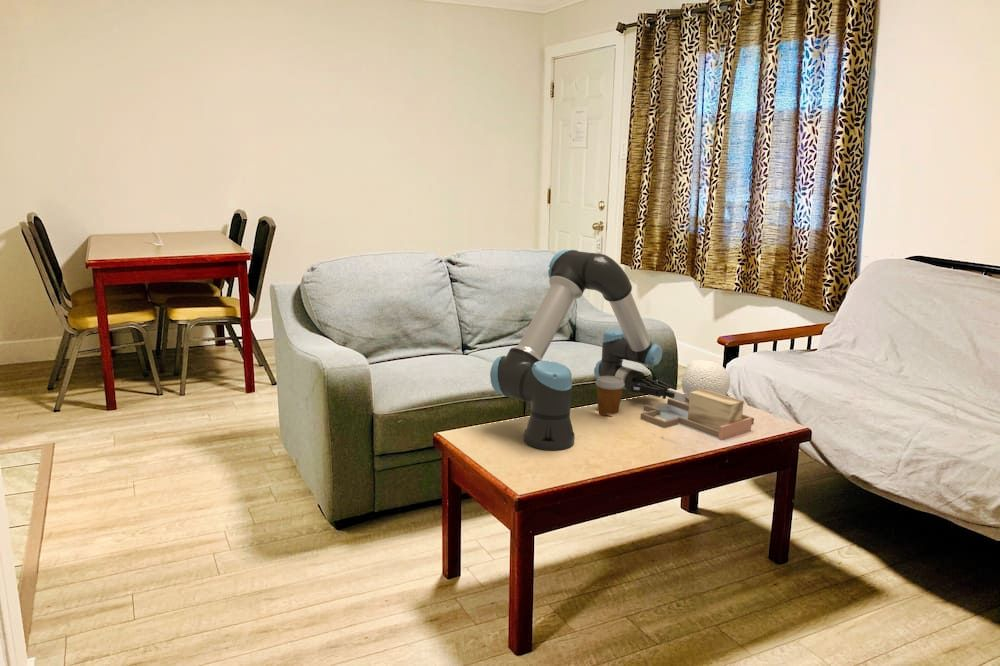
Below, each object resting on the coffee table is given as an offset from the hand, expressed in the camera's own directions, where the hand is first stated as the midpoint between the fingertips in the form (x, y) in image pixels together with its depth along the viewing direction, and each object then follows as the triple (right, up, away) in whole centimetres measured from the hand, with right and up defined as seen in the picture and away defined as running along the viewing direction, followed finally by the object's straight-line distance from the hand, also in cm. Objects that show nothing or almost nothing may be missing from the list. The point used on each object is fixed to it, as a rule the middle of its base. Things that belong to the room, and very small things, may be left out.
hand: (683, 397), depth 250 cm
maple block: (+8, -9, -8) cm, 14 cm away
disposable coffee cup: (-24, -6, +5) cm, 25 cm away
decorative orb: (+11, -4, +19) cm, 22 cm away
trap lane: (+3, -8, -2) cm, 9 cm away
